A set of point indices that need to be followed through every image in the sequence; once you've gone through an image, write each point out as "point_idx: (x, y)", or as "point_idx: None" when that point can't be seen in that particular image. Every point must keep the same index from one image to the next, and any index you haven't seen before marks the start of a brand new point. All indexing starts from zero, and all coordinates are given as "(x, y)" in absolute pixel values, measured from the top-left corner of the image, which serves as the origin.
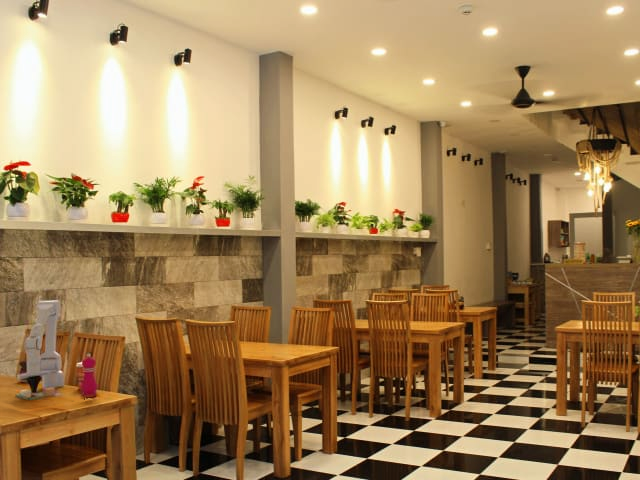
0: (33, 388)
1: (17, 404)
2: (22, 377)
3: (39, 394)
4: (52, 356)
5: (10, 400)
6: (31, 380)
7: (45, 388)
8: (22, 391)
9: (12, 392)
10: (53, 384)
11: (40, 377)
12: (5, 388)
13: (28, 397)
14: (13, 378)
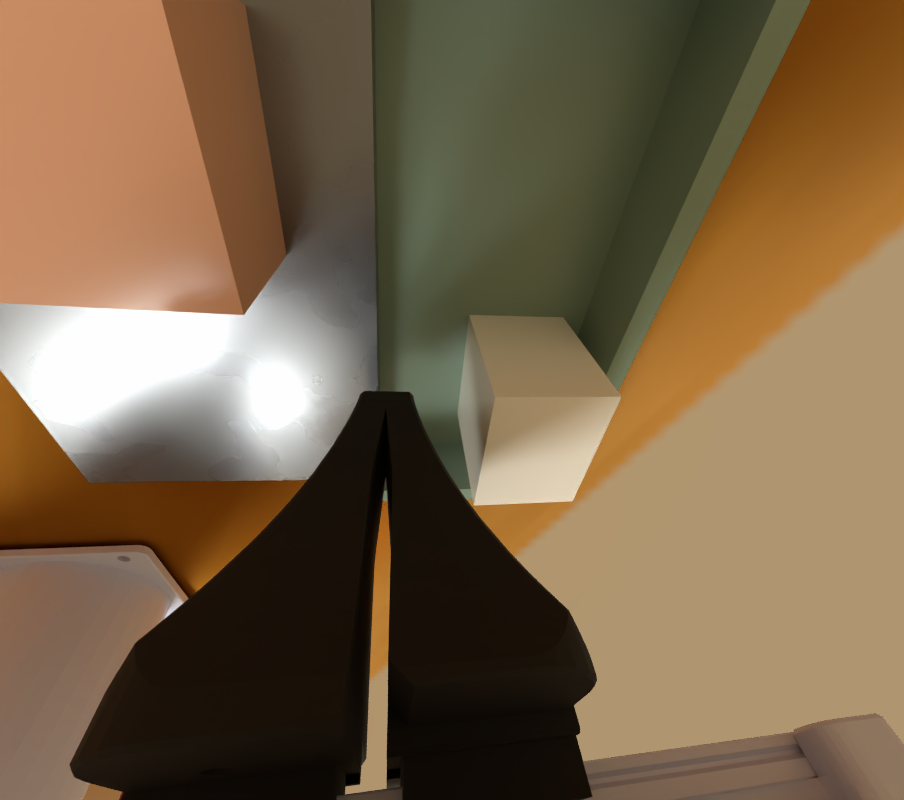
0: (423, 439)
1: (815, 144)
2: (760, 789)
3: (305, 375)
4: None
5: None
6: (557, 611)
7: (158, 290)
8: (592, 447)
9: (377, 639)
10: (2, 625)
11: (124, 738)
12: None
13: (797, 15)
14: None
